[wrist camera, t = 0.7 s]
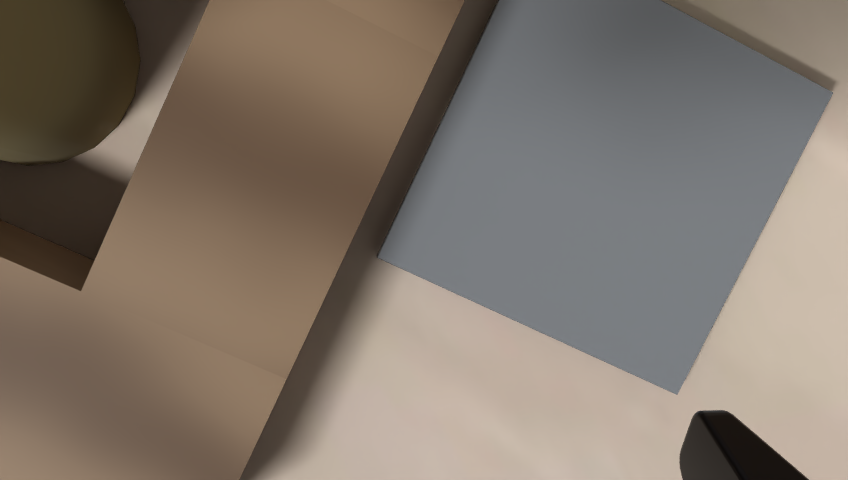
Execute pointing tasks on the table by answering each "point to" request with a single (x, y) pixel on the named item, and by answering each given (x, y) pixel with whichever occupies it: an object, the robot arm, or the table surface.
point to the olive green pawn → (63, 76)
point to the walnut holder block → (210, 245)
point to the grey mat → (605, 176)
